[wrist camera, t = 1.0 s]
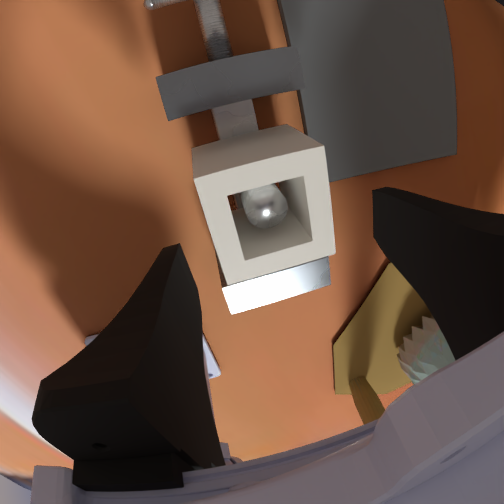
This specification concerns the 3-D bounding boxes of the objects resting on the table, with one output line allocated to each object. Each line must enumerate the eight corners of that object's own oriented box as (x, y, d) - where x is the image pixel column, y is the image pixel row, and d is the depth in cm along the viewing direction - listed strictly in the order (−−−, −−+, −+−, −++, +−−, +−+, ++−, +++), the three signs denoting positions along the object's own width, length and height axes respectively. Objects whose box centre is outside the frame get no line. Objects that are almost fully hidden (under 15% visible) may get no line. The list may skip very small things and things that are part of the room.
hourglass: (443, 373, 39) (519, 502, 18) (305, 408, 35) (372, 595, 14) (518, 231, 27) (656, 373, 6) (367, 226, 23) (588, 536, 2)
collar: (216, 231, 18) (227, 285, 14) (191, 148, 16) (193, 178, 11) (301, 208, 18) (335, 253, 14) (286, 123, 16) (324, 145, 12)
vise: (306, 245, 22) (340, 300, 17) (222, 270, 22) (235, 332, 17) (254, -18, 13) (285, -53, 8) (145, 6, 13) (126, -23, 8)
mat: (312, 182, 20) (315, 185, 19) (275, -6, 13) (278, -9, 13) (451, 152, 20) (456, 154, 20) (437, -1, 14) (443, -1, 13)
